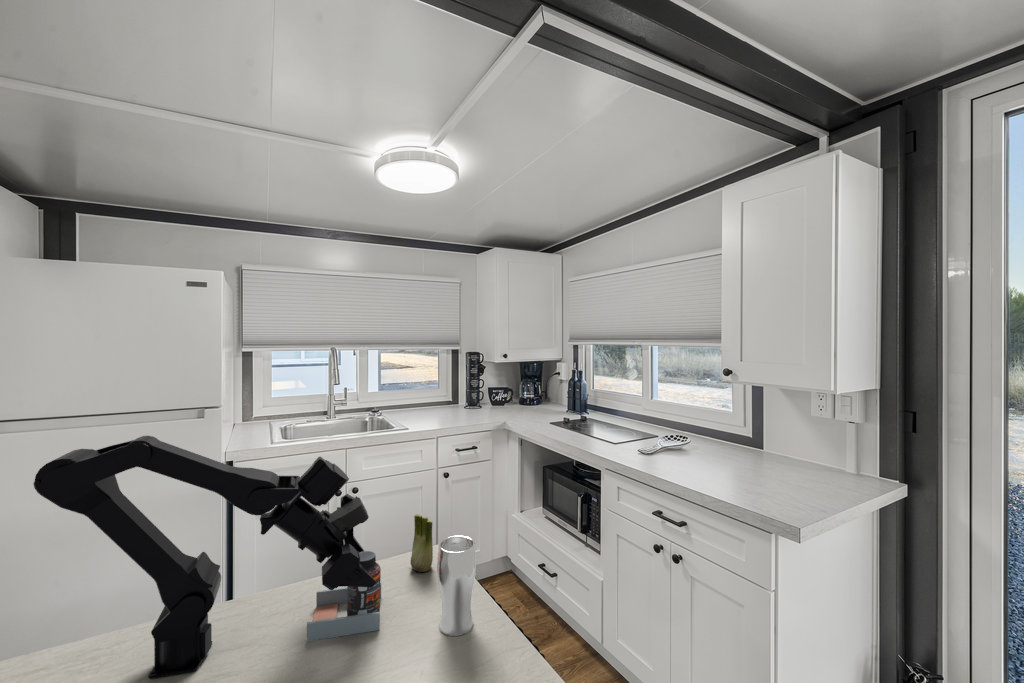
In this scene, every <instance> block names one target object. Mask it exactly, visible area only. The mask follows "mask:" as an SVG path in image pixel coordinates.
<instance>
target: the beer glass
mask: <svg viewBox="0 0 1024 683" xmlns="http://www.w3.org/2000/svg"><path fill="white" fill-rule="evenodd" d="M476 558H477V557H476V542H475V540H474V539H473V538H471V537H469V536H466V535H465V536H464V535H451V536H448V537H445V538H443V539H442V540H440V542H439V543H438V553H437V565H436V566H437V567H436V568H437V581H438V583H437V584H438V588H439V589H438V590H439V594H440V601H441V615H440V619H439V620H440V621H439V630H440V631H441V633H442V634H444V635H447V636H449V637H458V636H462V635H465V634H467V633H468V632H469V631H470V630H472V628H473V624H474V621H473V615H472V596H473V591H474V585H475V582H476V580H475V578H476V572H477V571H476V566H477V563H476V562H477V559H476Z"/></svg>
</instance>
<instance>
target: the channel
mask: <svg viewBox="0 0 1024 683" xmlns="http://www.w3.org/2000/svg"><path fill="white" fill-rule="evenodd" d="M315 599H316V604H315V605H316V606H315V609H314V612H313V616H312V619H311V621H308V622H306V642H311V641H317V640H322V639H323V640H324V639H330V638H337V637H343V636H350V635H356V634H362V633H368V632H373V631H374V632H375V631H380V625H381V623H380V620H381V619H380V614H381V613H380V612H374V613H367V614H360V615H353V616H347V615H346V616H341V617H340V616H339V617H337V614H338V613H337V612H338V610H339V605H347V586H343V587H338V588H334V589H333V590H329V589H323V590H317V591H316V598H315ZM381 599H382V582H380V600H381Z"/></svg>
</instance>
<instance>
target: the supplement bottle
mask: <svg viewBox="0 0 1024 683" xmlns="http://www.w3.org/2000/svg"><path fill="white" fill-rule="evenodd" d="M359 555H360V564H361V565H362V566H363V567H364V569H365V570H366V571H367V572H368V573H369V574H370V575H371V576H372V577H373V578H374V580H375V581H376V584H375V585H374V586H373V587H372V588H371V587H353V586H346V587H347V604H346V617H347V616H353V615H360V614H367V613H374V612H380V610H381V599H380V583H381V578H382V577H381V576H382V574H381V571H382V570H381V566H380V565H379V563H378V562H376V560H377V558H376V553H375V552H374V551H372V550H371V551H370V550H364V551H363V552H360V553H359Z"/></svg>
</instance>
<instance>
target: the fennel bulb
mask: <svg viewBox="0 0 1024 683" xmlns="http://www.w3.org/2000/svg"><path fill="white" fill-rule="evenodd" d="M413 517H414V520H413V521H414V536H413V542H412V550H411V556H410V566H411V568H412V569H413V570H414V571H416V572H418V573H423V572H424V573H425V572H428V571H430V570H431V567H432V564H433V557H434V556H433V553H434V549H433V548H434V546H433V520H432V519H431V520H430V519H429V517H428V516H427V517H425V516H424V517H423V515H421V514H415V515H414V516H413Z"/></svg>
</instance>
